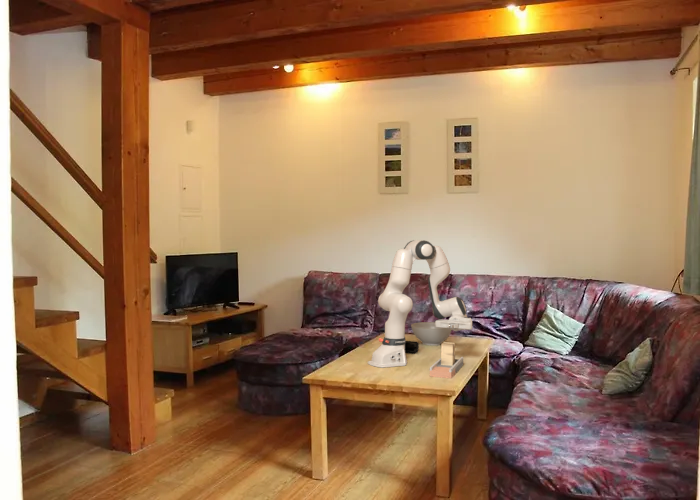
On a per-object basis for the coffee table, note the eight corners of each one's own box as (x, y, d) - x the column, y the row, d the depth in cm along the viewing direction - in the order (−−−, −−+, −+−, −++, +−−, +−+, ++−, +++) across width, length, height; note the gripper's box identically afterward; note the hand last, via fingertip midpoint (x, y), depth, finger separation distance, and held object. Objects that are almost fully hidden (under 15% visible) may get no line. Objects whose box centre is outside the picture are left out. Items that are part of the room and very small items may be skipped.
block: (443, 362, 325) (443, 342, 324) (454, 363, 323) (455, 342, 322) (441, 364, 319) (441, 344, 319) (452, 365, 317) (452, 344, 317)
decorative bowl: (409, 339, 408) (410, 321, 408) (449, 340, 407) (450, 322, 407) (412, 347, 381) (412, 328, 381) (455, 348, 380) (455, 328, 380)
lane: (443, 363, 336) (443, 355, 336) (463, 365, 332) (463, 357, 332) (429, 376, 306) (429, 367, 306) (451, 378, 302) (451, 369, 302)
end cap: (418, 352, 367) (419, 341, 367) (415, 354, 361) (415, 342, 361) (403, 350, 371) (403, 339, 371) (399, 352, 365) (399, 341, 365)
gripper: (438, 316, 343) (432, 319, 331) (474, 318, 336) (469, 321, 323) (438, 327, 344) (432, 331, 331) (474, 329, 336) (469, 333, 323)
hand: (451, 326), depth 327 cm, fingers closed
